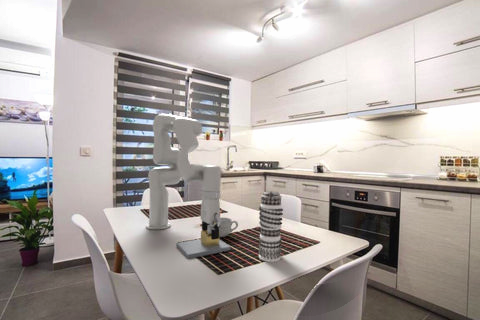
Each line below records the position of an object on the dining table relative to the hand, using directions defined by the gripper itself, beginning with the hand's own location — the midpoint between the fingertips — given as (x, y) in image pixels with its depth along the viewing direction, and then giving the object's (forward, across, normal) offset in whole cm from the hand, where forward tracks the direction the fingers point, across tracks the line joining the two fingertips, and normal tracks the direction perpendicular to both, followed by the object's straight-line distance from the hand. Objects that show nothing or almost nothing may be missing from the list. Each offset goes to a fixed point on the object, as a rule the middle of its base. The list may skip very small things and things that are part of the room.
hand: (210, 235), depth 102 cm
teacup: (+5, -11, +12) cm, 17 cm away
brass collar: (+3, 0, 0) cm, 3 cm away
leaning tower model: (+5, +20, +16) cm, 26 cm away
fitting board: (+5, 0, -3) cm, 6 cm away
